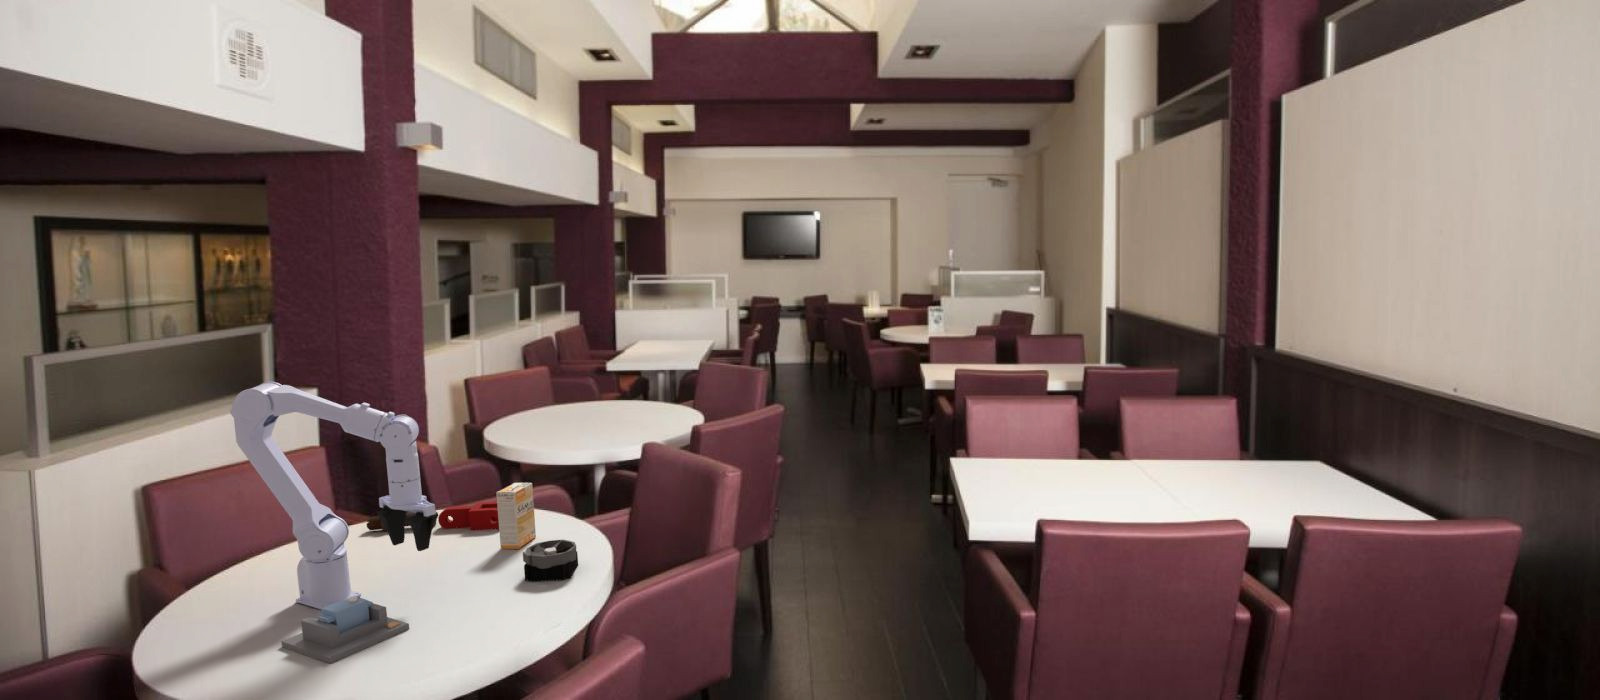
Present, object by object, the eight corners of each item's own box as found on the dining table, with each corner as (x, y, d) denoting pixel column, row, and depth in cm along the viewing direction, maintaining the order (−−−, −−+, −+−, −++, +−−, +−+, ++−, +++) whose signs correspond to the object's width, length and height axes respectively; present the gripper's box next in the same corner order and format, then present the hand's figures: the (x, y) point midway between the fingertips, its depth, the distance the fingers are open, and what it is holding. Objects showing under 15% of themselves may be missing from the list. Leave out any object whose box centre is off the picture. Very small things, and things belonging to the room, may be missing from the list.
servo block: (318, 638, 161) (315, 607, 161) (362, 620, 168) (359, 590, 168) (332, 643, 159) (328, 611, 158) (376, 624, 166) (373, 594, 166)
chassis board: (281, 646, 161) (279, 622, 160) (361, 614, 174) (359, 591, 173) (329, 663, 154) (327, 638, 153) (409, 628, 166) (407, 605, 166)
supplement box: (519, 549, 206) (515, 492, 205) (499, 549, 207) (495, 491, 206) (537, 537, 214) (533, 482, 213) (518, 536, 215) (513, 481, 214)
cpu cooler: (580, 537, 196) (570, 554, 186) (582, 563, 197) (572, 581, 187) (531, 539, 196) (518, 556, 186) (533, 565, 196) (520, 584, 186)
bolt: (371, 538, 224) (436, 530, 227) (364, 534, 220) (431, 526, 222) (371, 514, 227) (436, 506, 229) (365, 509, 222) (431, 502, 224)
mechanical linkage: (511, 520, 229) (510, 500, 228) (504, 529, 222) (502, 509, 221) (445, 524, 228) (443, 504, 227) (436, 533, 221) (434, 513, 220)
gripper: (446, 477, 180) (452, 545, 182) (398, 470, 187) (405, 535, 189) (414, 487, 174) (421, 557, 176) (366, 478, 182) (373, 546, 183)
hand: (410, 546), depth 182 cm, fingers open, 7 cm apart
